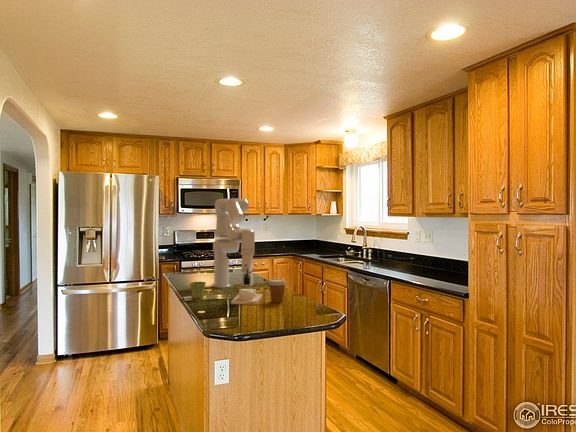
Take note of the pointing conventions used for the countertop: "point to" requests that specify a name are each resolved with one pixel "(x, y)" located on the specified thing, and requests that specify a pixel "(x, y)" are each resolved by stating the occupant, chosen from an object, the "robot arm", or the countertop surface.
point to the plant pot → (197, 289)
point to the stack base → (248, 301)
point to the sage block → (250, 280)
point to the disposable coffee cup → (277, 290)
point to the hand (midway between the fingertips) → (247, 283)
